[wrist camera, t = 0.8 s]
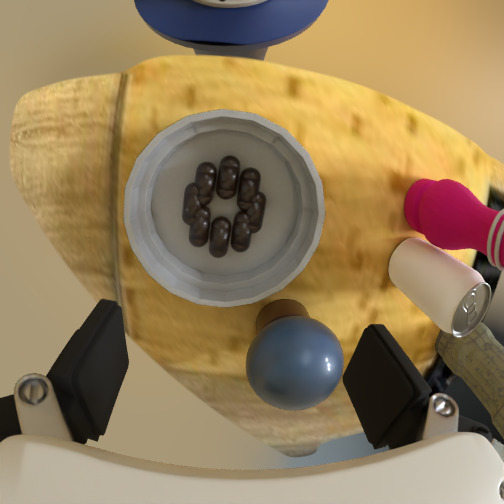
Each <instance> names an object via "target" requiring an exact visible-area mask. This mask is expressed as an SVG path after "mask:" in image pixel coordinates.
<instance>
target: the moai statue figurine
mask: <svg viewBox="0 0 504 504" xmlns="http://www.w3.org/2000/svg"><path fill="white" fill-rule="evenodd" d="M435 348H436V351H437V352H438V354H439V355H441V356H442V358H443V361H444V362H445V363H446V365H447V366H448V367H449V368H450V369H451V371H452V372H453V373H454V374H455V375H457V376H459V377H461V378H463V380H464V381H465V382H466V383H467V384H468V386H469V387H470V388H471V390H472V391H473V392H474V393H475V394H476V396H477V397H478V398H479V400H480V401H481V402H482V403H483V405H484V406H485V408H486V409H487V410H488V412H489V413H490V414H491V418H492V423H493V424H494V426H495V427H496V428H497V430H498V431H499V433H500V434H501V436H502V437H503V439H504V347H503V346H502V345H501V344H500V343H499V342H497V340H495V338H494V336H493V334H492V333H491V331H490V330H489V329H488V328H487V327H486V326H485V325H484V324H483V323H482V322H480V323H479V324H478V326H477V327H476V328H475V329H474V330H473V331H472V332H471V333H469V334H468V335H466V336H464V337H461V338H457V337H455V336H454V335H453V334H451V333H447V332H444V331H443V330H441V332H440V334H439V336H438V338H437V340H436V344H435Z"/></svg>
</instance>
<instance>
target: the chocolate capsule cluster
mask: <svg viewBox="0 0 504 504" xmlns="http://www.w3.org/2000/svg"><path fill="white" fill-rule="evenodd" d="M239 172H240V161H239V160H238V158H237V157H235V156H232V155H228V156H225V157H223V158H222V159H221V161H220V164H219V170H218V177H217V184H216V193H217V195H218V196H219V197H220V198H221V199H224V200H229V199H231V198H233V197H234V196H235V194H236V191H237V185H238V179H239ZM216 175H217V169H216V167H215V165H214V164H213V163H211V162H202V163H200V164H199V165H198V167H197V169H196V175H195V182H192V183H190V184H188V185H187V186H186V188H185V191H184V199H183V209H182V219H183V221H184V223H185V224H187V225H189V226H190V227H189V241H190V243H191V244H192V245H193V246H194V247H203V246H204V245H205V244H206V243H207V241H208V237H209V229H210V220H211V211H210V209H209V208H208V207H207V206H206V205H208V204H210V203H211V202H212V200H213V197H214V189H215V182H216ZM260 182H261V175H260V172H259V171H258V170H257V169H255V168H252V167H249V168H246V169H244V170H243V171H242V173H241V175H240V180H239V187H238V194H237V201H236V202H237V206H238V207H239V209H241V211H239V212H237V213H236V214H235V216H234V220H233V227H232V234H231V241H230V244H231V247H232V249H233V250H234V251H236V252H239V253H242V252H245V251H246V250H248V248H249V247H250V242H251V236H252V234H254V233H257V232H258V231H260V229H261V228H262V224H263V218H264V213H265V207H266V196H265V195H264V193H263V192H261V191H259V188H260ZM230 233H231V222H230V220H229V219H228V218H227V217H225V216H218V217H216V218H215V219H214V220H213V221H212V223H211V230H210V239H209V252H210V254H211V255H212V256H213V257H215V258H222V257H224V256H225V255H226V254H227V252H228V247H229V240H230Z"/></svg>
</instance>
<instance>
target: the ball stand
mask: <svg viewBox="0 0 504 504" xmlns="http://www.w3.org/2000/svg"><path fill="white" fill-rule="evenodd" d="M256 329H257V335H256V336H255V337H254V339H253V340H252V342H251V344H250V347H249V349H248V352H247V356H246V373H247V377H248V380H249V383H250V385H251V387H252V388H253V390H254V391H255V393H256V394H257V395H258V396H259V397H260V398H261V399H262V400H264V401H265V402H266V403H268V404H270V405H272V406H274V407H276V408H279V409H284V410H303V409H307V408H310V407H313V406H315V405H317V404H319V403H321V402H322V401H324V400H325V399H326V398H327V397H328V396H329V395H330V394H331V393H332V392H333V391H334V390H335V388H336V387H337V385H338V383H339V381H340V378H341V376H342V372H343V367H344V357H343V351H342V348H341V345H340V342H339V340H338V339H337V337H336V336H335V334H334V333H333V332H332V331H331V330H330V329H329V328H328V327H327V326H326V325H324V324H323V323H321V322H319V321H318V320H315V319H312V318H310V316H309V314H308V312H307V310H306V308H305V307H304V306H303V305H302V304H301V303H299V302H297V301H294V300H290V299H281V300H277V301H274V302H271V303H270V304H268V305H266V306H265V307H264V308H263V309H262V310H261V311H260V313H259V314H258V317H257V320H256Z"/></svg>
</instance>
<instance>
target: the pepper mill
mask: <svg viewBox="0 0 504 504" xmlns="http://www.w3.org/2000/svg"><path fill="white" fill-rule="evenodd" d="M404 211H405V217H406V220H407V222H408V224H409V225H410V227H411V228H413V229H414V230H416V231H417V232H419V233H421V234H424V235H425V237H426V239H427V240H428V241H429V242H430V243H431V244H433V245H435V246H437V247H439V248H442V249H447V250H459V249H467V248H471V249H476V250H478V251H480V252H482V253H484V254H485V255H486V256H488V260H489V262H490V263H491V265H493V266H495V267H497V268H498V269H499V270H501V271H503V270H504V209H503V210H501V211H496V210H493V209H490V208H488V207H486V206H485V205H483V204H482V203H481V202H480V201H479V200H478V199H477V198H476V196H475V195H474V194H473V193H472V192H471V191H470V190H469V189H468V188H466V187H465V186H464V185H462V184H461V183H459V182H456V181H453V180H450V179H442V180H439V181H434V180H430V179H421V180H418V181H417V182H415V183H414V184H413V185H412V186H411V188H410V189H409V191H408V193H407V195H406V199H405V205H404Z"/></svg>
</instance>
